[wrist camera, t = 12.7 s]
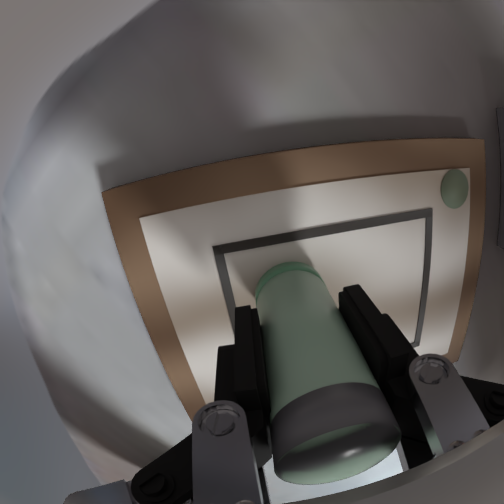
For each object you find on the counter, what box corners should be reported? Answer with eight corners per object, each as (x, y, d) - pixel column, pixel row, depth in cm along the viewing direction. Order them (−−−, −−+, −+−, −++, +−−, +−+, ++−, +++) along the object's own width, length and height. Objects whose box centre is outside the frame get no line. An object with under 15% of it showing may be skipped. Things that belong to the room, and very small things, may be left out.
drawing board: (450, 351, 17) (458, 362, 16) (194, 410, 18) (192, 425, 17) (470, 138, 12) (486, 139, 11) (112, 187, 12) (99, 193, 11)
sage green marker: (325, 315, 13) (388, 465, 6) (260, 327, 13) (280, 491, 6) (321, 255, 12) (414, 404, 5) (249, 268, 12) (265, 442, 5)
